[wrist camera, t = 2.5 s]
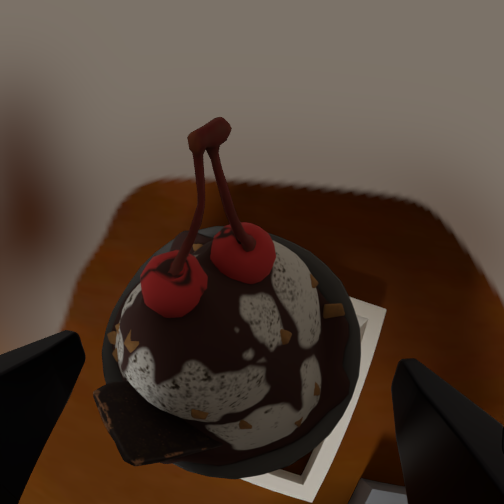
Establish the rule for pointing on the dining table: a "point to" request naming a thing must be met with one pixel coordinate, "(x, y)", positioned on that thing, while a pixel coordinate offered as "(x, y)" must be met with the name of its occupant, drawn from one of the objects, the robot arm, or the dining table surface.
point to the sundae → (227, 346)
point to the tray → (378, 493)
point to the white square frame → (326, 450)
